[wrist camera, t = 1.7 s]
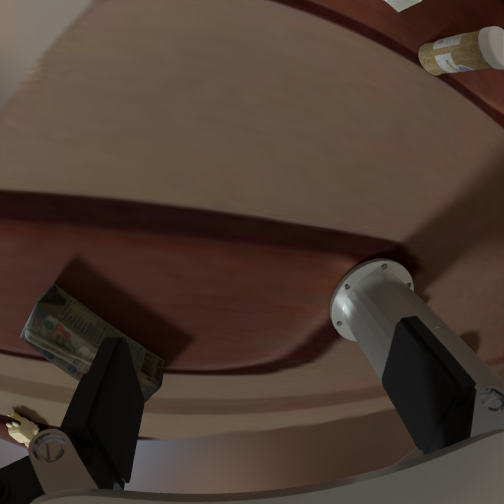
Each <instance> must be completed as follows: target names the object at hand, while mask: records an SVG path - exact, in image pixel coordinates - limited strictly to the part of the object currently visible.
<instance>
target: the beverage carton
mask: <svg viewBox="0 0 504 504" xmlns="http://www.w3.org/2000/svg"><path fill="white" fill-rule="evenodd" d="M104 337H121V338H122V340H123V341H126V342H127V343H128V346H129V350H130V353H131V357H132V360H133V364H134V367H135V371H136V374H137V377H138V381H139V384H140V387H141V390H142V394H143V397H144V403H145V402H146V401H147V400H148V399H149V398H150V397H151V396H152V395H153V394H154V393H155V392H156V391H157V390H158V389H159V388H160V387H161V385H162V380H163V373H164V366H165V360H164V359H162V358H160V357H159V356H157V355H156V354H154V353H153V352H151V351H150V350H148V349H146V348H145V347H143V346H142V345H140V344H139V343H137V342H136V341H134V340H133V339H131V338H130V337H128V336H126V335H125V334H124V333H122V332H121V331H119V330H118V329H116V328H115V327H113V326H112V325H110V324H109V323H107V322H106V321H105V320H103V319H102V318H100V317H99V316H97V315H96V314H95V313H93V312H92V311H91V310H89V309H88V308H87V307H85V306H84V305H82V304H81V303H80V302H79V301H77V300H76V299H74V298H73V297H72V296H70V295H69V294H67V293H66V292H65V291H64V290H62V289H61V288H60V287H58V286H57V285H56V284H53V285H52V286H51V287H50V288H48V289H47V291H46V292H45V293H44V295H43V296H42V297H41V298H40V299H39V300H38V301H37V302H36V304H35V306H34V308H33V311H32V313H31V315H30V317H29V319H28V321H27V323H26V325H25V327H24V329H23V331H22V334H21V339H23V340H24V341H25V342H26V343H28V344H29V345H30V346H31V347H32V348H34V349H35V350H37V351H38V352H39V353H40V354H42V355H43V356H44V357H45V358H46V359H48V360H49V361H51V362H52V363H53V364H55V365H56V366H57V367H59V368H60V369H62V370H63V371H64V372H66V373H67V374H69V375H70V376H72V377H73V378H75V379H76V380H78V381H79V382H80V380H81V378H82V376H83V375H84V374H85V373H88V371H89V369H90V366H91V364H92V362H93V360H94V358H95V355H96V353H97V351H98V349H99V347H100V345H101V343H102V340H103V339H104Z"/></svg>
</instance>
